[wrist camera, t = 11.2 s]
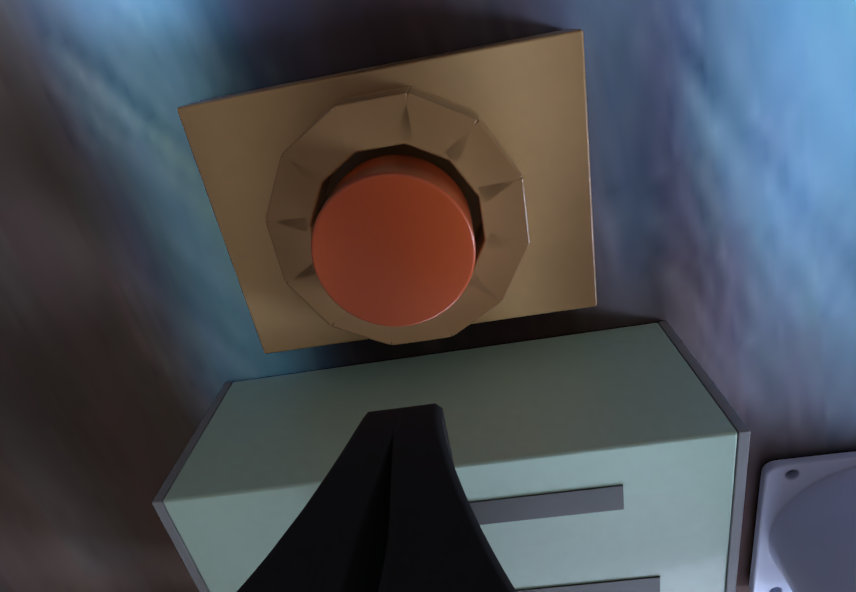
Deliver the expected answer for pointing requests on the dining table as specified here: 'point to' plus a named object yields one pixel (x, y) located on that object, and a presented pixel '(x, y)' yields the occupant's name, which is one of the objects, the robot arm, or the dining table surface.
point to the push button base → (423, 138)
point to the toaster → (494, 460)
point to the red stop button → (394, 241)
